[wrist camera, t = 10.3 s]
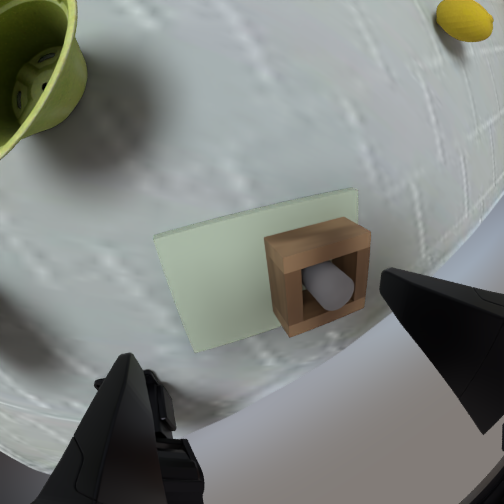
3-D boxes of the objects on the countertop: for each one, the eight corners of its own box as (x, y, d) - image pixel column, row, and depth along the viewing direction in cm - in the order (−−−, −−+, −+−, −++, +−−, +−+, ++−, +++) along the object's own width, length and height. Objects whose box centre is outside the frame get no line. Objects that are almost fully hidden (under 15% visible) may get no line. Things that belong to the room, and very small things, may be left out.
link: (273, 311, 23) (289, 337, 20) (263, 237, 20) (282, 258, 17) (342, 287, 25) (364, 307, 22) (343, 216, 22) (371, 231, 19)
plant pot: (-5, 59, 8) (-72, 40, 1) (109, 7, 10) (84, -60, 3) (6, 172, 13) (-69, 208, 5) (120, 127, 15) (83, 123, 7)
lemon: (451, 24, 17) (502, 22, 10) (447, 52, 18) (503, 53, 11) (424, -7, 14) (478, -15, 8) (419, 20, 16) (479, 13, 9)
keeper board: (193, 347, 23) (204, 392, 19) (153, 235, 18) (152, 271, 14) (349, 294, 27) (381, 324, 22) (352, 187, 22) (396, 205, 17)
